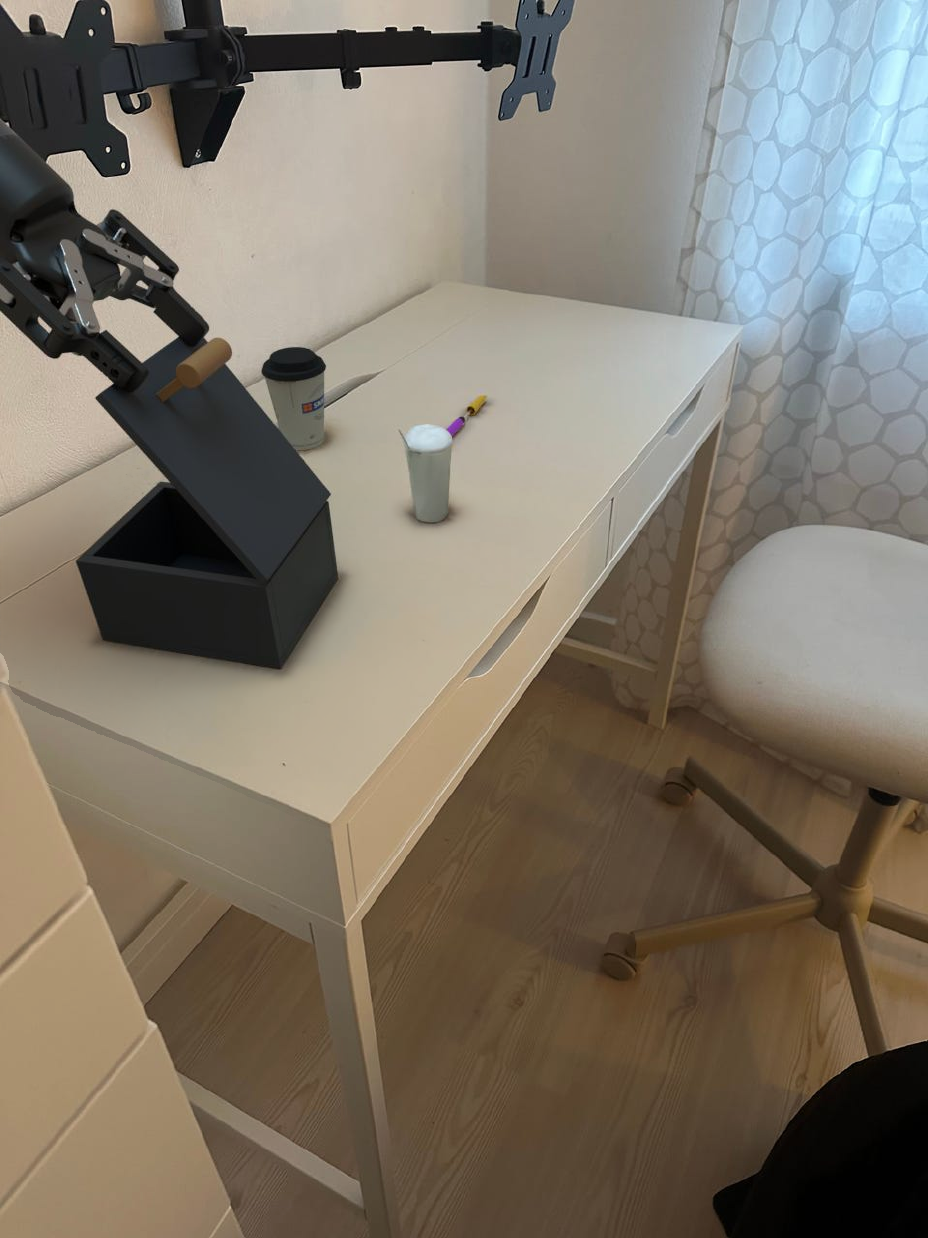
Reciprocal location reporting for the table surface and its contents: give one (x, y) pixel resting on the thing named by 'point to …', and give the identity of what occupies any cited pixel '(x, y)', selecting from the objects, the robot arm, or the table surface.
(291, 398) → the coffee cup
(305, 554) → the black open box
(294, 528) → the lid
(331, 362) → the table surface
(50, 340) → the robot arm
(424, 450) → the milkshake
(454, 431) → the purple yellow rod
